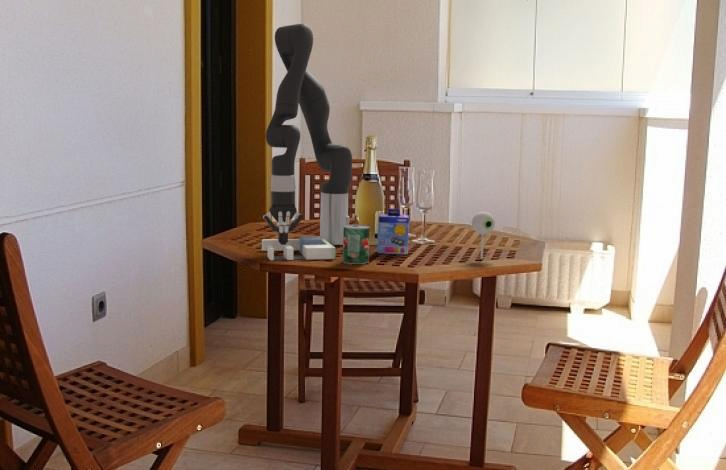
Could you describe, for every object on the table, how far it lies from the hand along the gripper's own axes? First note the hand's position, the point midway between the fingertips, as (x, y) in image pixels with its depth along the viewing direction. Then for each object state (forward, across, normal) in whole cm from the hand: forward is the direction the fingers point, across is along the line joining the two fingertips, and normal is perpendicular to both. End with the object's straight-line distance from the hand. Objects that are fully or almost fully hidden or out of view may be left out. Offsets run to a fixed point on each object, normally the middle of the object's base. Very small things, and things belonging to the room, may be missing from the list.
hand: (283, 244), depth 289 cm
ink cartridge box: (+4, -35, +2) cm, 36 cm away
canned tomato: (+3, -19, +17) cm, 26 cm away
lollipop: (+4, -60, +17) cm, 62 cm away
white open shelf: (+3, -4, +2) cm, 6 cm away
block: (+3, -9, 0) cm, 9 cm away
